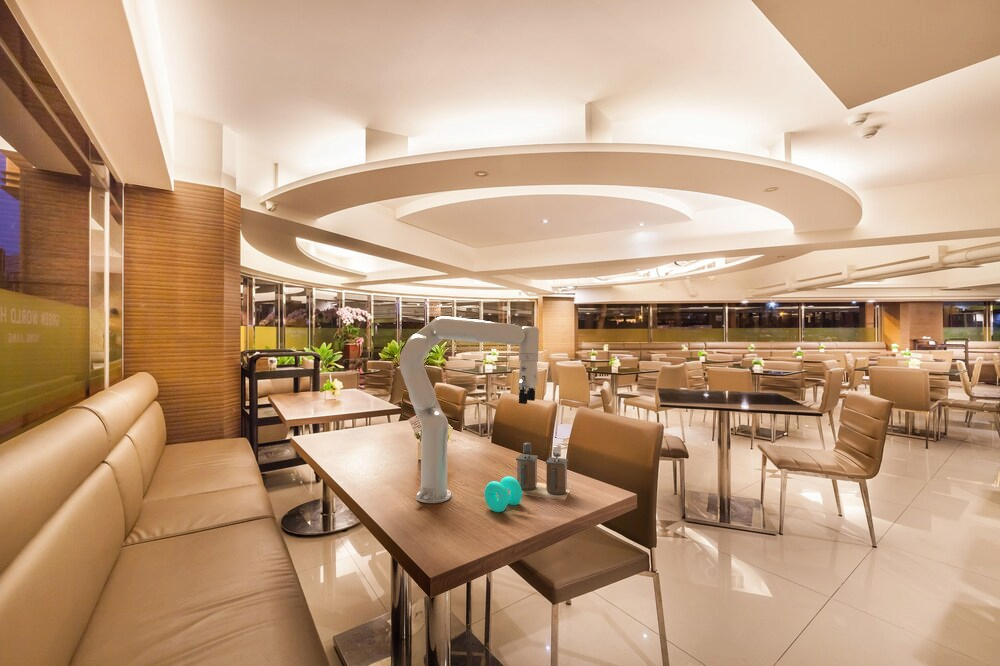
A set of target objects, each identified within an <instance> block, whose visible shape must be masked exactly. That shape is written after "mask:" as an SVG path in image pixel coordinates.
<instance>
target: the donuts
mask: <svg viewBox="0 0 1000 666" xmlns="http://www.w3.org/2000/svg"><path fill="white" fill-rule="evenodd" d="M522 499H523V494H522V489H521V486H520V484H519V482H518V481H517V478H515V477H513V476H504V477H503V478H501V480H500V482H499V481H494V480H493V481H490V482H488V483H487V485H486V486H485V488H484V500H485V502H486V505H487V507H488V508H489V509H490V510H491V511H493V512H495V513H501V512H504V510H506V509H507V506H508V505H512V506H517V505H518V504H520V503H521V501H522Z"/></svg>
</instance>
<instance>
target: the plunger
mask: <svg viewBox="0 0 1000 666" xmlns="http://www.w3.org/2000/svg"><path fill="white" fill-rule="evenodd" d="M561 446H562V445H560V444H553V445H552V457H554V458H556V462H558V458H561V456H562V447H561Z"/></svg>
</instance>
